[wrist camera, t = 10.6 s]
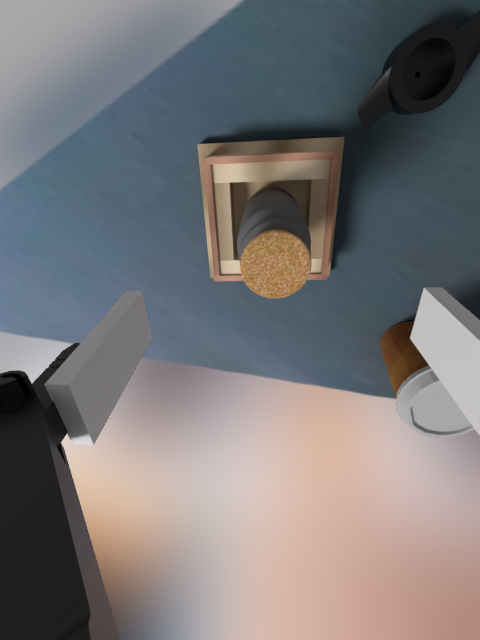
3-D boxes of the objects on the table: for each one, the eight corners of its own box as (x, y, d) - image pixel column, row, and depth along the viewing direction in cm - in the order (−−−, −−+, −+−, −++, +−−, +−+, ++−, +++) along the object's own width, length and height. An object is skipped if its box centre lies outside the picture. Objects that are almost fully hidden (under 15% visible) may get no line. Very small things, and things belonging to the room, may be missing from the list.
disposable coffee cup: (383, 304, 39) (425, 364, 29) (457, 316, 39) (526, 380, 29) (357, 363, 44) (386, 433, 34) (423, 373, 44) (472, 446, 34)
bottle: (236, 196, 33) (219, 237, 20) (292, 179, 32) (311, 209, 19) (252, 249, 35) (245, 314, 23) (303, 234, 34) (327, 295, 21)
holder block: (342, 136, 30) (353, 137, 27) (327, 272, 38) (335, 287, 34) (199, 143, 32) (190, 145, 28) (212, 274, 39) (206, 289, 35)
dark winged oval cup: (460, 122, 30) (478, 121, 27) (351, 130, 30) (358, 130, 28) (487, 11, 26) (511, -2, 23) (361, 24, 27) (372, 12, 24)
